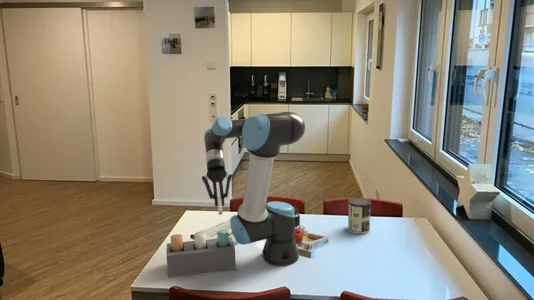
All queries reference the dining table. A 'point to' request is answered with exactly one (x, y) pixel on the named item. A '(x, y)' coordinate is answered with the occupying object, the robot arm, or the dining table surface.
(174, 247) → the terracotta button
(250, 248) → the dining table surface
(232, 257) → the button console
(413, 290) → the dining table surface
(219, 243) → the teal button
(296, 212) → the supplement bottle
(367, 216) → the coffee can
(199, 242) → the cream button
